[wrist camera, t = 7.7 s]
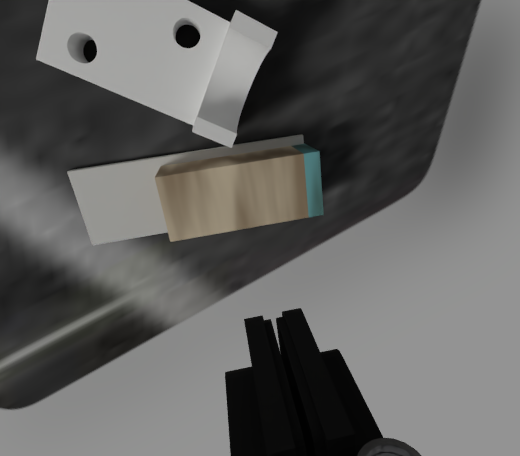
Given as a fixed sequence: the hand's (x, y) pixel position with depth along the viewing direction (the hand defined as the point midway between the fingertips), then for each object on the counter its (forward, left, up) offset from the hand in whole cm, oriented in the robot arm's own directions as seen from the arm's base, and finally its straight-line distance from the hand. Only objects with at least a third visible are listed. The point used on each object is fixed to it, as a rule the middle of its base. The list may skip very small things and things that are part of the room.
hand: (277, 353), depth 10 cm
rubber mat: (+3, 0, -22) cm, 22 cm away
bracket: (+3, -10, -22) cm, 25 cm away
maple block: (+5, 0, -19) cm, 20 cm away
